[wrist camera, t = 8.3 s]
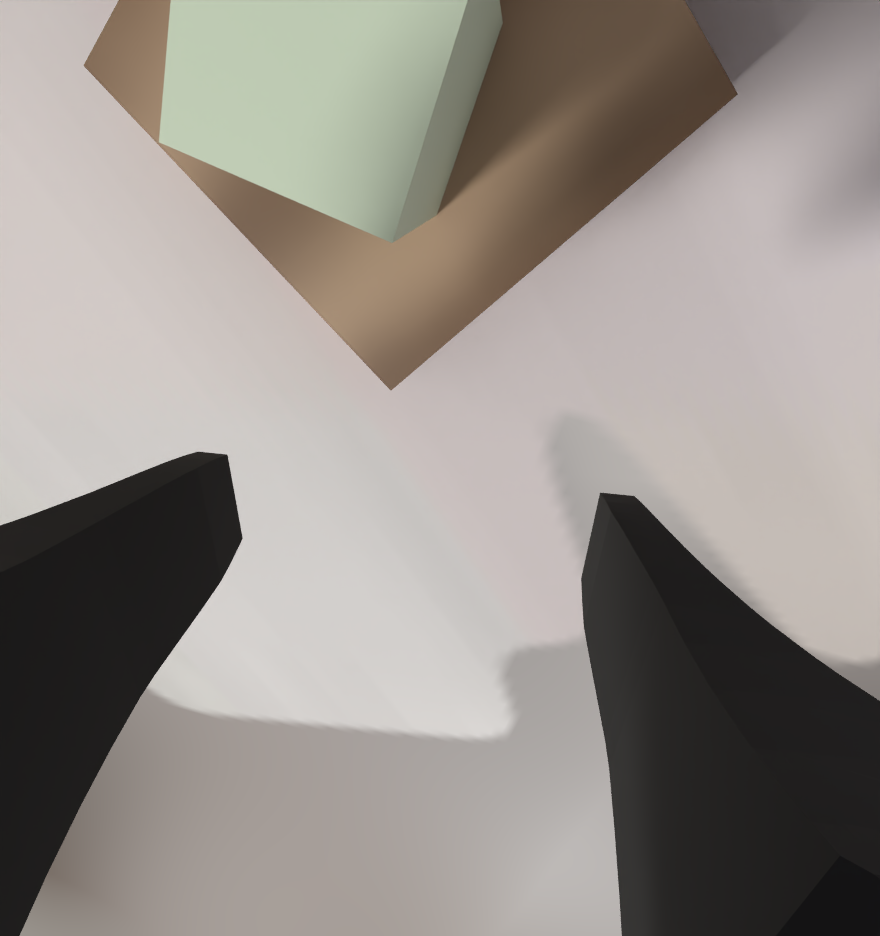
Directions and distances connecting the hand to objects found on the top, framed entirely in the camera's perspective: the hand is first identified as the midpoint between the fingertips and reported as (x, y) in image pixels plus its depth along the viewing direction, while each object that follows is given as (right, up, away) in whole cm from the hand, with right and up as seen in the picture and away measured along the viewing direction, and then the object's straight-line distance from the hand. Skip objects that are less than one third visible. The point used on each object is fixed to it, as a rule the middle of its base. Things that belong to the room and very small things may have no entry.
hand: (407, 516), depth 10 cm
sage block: (-1, +11, +3) cm, 11 cm away
